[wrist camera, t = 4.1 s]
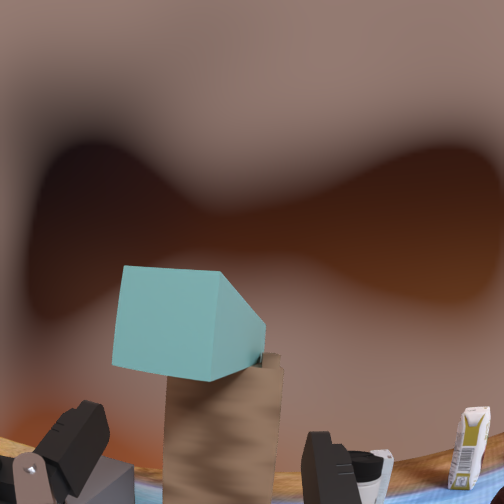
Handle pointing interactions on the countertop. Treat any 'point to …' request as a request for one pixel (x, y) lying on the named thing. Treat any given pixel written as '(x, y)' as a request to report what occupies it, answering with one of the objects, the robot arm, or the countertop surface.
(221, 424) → the walnut stand
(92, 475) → the charcoal pedestal
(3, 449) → the countertop surface
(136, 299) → the teal bar
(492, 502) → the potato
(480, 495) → the countertop surface
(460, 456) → the juice carton
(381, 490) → the skincare box
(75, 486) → the robot arm
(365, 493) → the travel mug
